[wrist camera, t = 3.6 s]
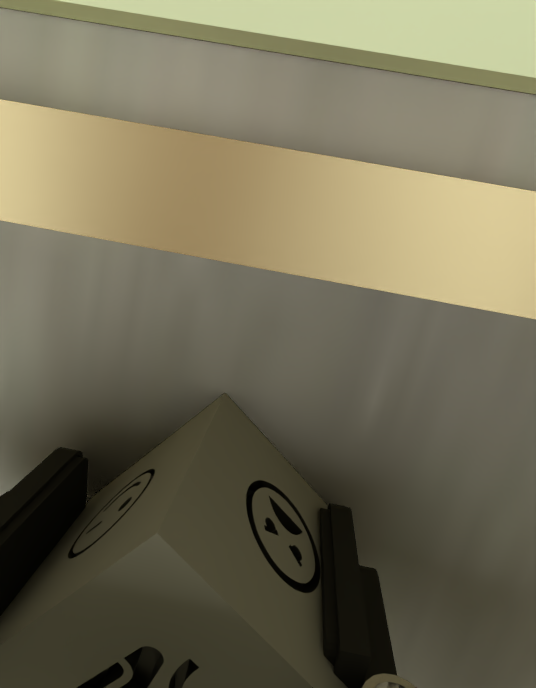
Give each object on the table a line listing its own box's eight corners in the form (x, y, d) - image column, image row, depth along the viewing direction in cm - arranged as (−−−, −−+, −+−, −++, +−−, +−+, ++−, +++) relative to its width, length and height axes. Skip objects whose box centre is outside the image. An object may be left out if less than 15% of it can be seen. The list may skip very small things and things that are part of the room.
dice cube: (225, 392, 11) (157, 532, 6) (349, 529, 11) (377, 752, 7) (93, 496, 12) (-52, 682, 7) (213, 613, 13) (154, 852, 8)
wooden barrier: (879, 181, 8) (1384, 146, 4) (750, 415, 10) (1041, 545, 6) (-290, -13, 9) (-720, -181, 5) (-248, 226, 11) (-564, 229, 7)
